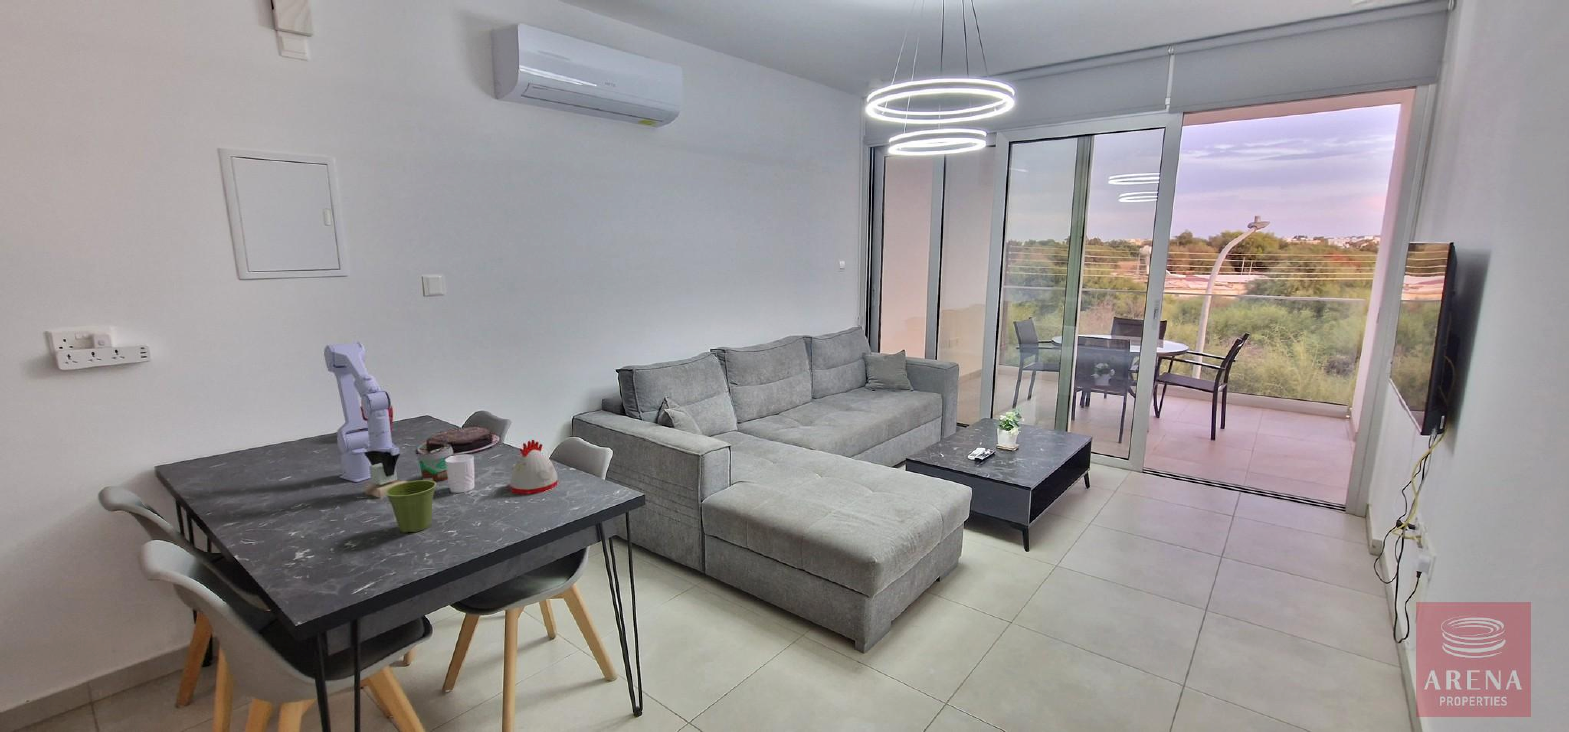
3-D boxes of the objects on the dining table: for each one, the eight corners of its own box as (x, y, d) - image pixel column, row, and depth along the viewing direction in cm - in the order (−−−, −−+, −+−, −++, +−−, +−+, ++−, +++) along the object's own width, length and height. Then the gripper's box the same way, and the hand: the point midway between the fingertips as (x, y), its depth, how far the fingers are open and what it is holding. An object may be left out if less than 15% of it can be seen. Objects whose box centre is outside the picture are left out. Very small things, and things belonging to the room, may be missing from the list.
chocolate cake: (409, 446, 239) (407, 429, 237) (486, 432, 257) (484, 416, 256) (428, 464, 218) (426, 446, 217) (510, 447, 237) (509, 430, 236)
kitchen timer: (500, 489, 193) (496, 443, 191) (535, 475, 206) (532, 432, 203) (533, 497, 188) (529, 449, 185) (567, 482, 200) (564, 437, 197)
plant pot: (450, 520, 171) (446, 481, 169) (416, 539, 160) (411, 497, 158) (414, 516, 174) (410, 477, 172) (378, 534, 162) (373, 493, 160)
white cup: (482, 486, 196) (479, 456, 194) (460, 495, 189) (456, 463, 187) (464, 482, 199) (461, 452, 198) (442, 491, 192) (439, 460, 191)
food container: (436, 486, 197) (433, 455, 195) (419, 484, 198) (416, 454, 196) (464, 472, 208) (461, 444, 207) (447, 471, 210) (445, 443, 208)
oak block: (365, 494, 191) (364, 485, 190) (392, 486, 198) (391, 477, 197) (381, 499, 187) (379, 489, 186) (407, 490, 194) (406, 481, 193)
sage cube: (371, 481, 190) (369, 466, 189) (387, 476, 195) (386, 461, 194) (380, 484, 188) (378, 468, 187) (397, 479, 192) (395, 464, 191)
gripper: (351, 431, 189) (357, 474, 191) (380, 437, 182) (385, 481, 184) (375, 425, 195) (380, 467, 197) (404, 431, 188) (408, 474, 191)
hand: (384, 473), depth 191 cm, fingers closed on sage cube, 5 cm apart
